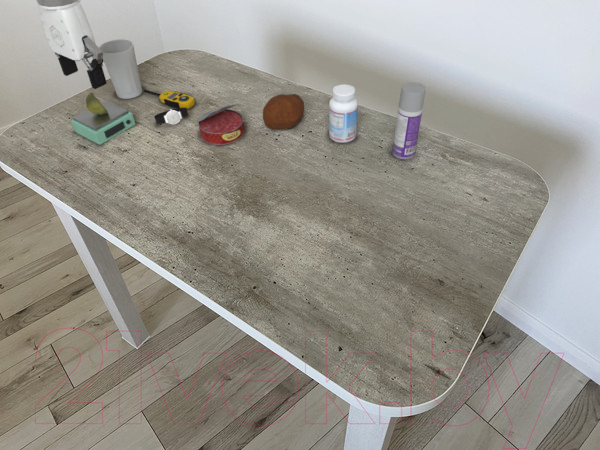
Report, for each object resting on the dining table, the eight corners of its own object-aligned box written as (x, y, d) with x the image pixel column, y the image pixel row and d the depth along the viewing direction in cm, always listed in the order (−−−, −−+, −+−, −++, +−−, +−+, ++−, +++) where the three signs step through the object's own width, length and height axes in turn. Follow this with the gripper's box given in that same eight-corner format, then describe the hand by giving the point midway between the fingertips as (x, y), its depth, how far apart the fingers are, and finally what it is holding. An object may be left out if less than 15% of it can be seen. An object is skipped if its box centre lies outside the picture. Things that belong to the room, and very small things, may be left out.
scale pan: (96, 131, 104) (94, 128, 104) (73, 120, 108) (72, 117, 107) (128, 113, 110) (128, 110, 109) (106, 103, 113) (105, 100, 112)
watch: (159, 130, 110) (155, 116, 107) (153, 120, 113) (149, 106, 110) (191, 120, 112) (188, 107, 110) (185, 111, 115) (182, 98, 113)
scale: (100, 145, 106) (96, 134, 104) (75, 132, 110) (70, 120, 108) (136, 124, 112) (133, 113, 109) (110, 112, 116) (107, 101, 114)
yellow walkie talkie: (185, 104, 114) (136, 90, 119) (186, 111, 115) (138, 97, 120) (197, 95, 117) (149, 82, 122) (198, 102, 118) (150, 89, 123)
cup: (127, 82, 126) (114, 37, 118) (152, 88, 124) (140, 42, 115) (106, 96, 121) (91, 50, 113) (131, 103, 119) (117, 56, 110)
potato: (313, 122, 111) (313, 92, 105) (282, 143, 105) (280, 113, 100) (286, 110, 115) (285, 80, 109) (254, 129, 109) (251, 99, 104)
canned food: (210, 160, 109) (181, 130, 102) (215, 131, 115) (189, 101, 108) (252, 142, 104) (225, 109, 98) (255, 112, 111) (230, 80, 104)
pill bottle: (352, 126, 109) (354, 80, 101) (359, 142, 105) (362, 95, 97) (325, 129, 108) (326, 83, 100) (331, 145, 104) (333, 98, 96)
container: (414, 147, 103) (426, 82, 92) (414, 160, 99) (426, 94, 89) (392, 145, 103) (401, 80, 93) (391, 158, 100) (400, 93, 90)
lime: (97, 107, 110) (90, 87, 107) (115, 110, 109) (108, 90, 106) (85, 117, 107) (77, 96, 104) (103, 120, 106) (95, 100, 103)
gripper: (12, -10, 92) (45, 75, 104) (67, 10, 84) (96, 98, 96) (48, -20, 96) (75, 62, 108) (102, -2, 89) (126, 84, 101)
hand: (85, 79), depth 102 cm, fingers open, 9 cm apart
